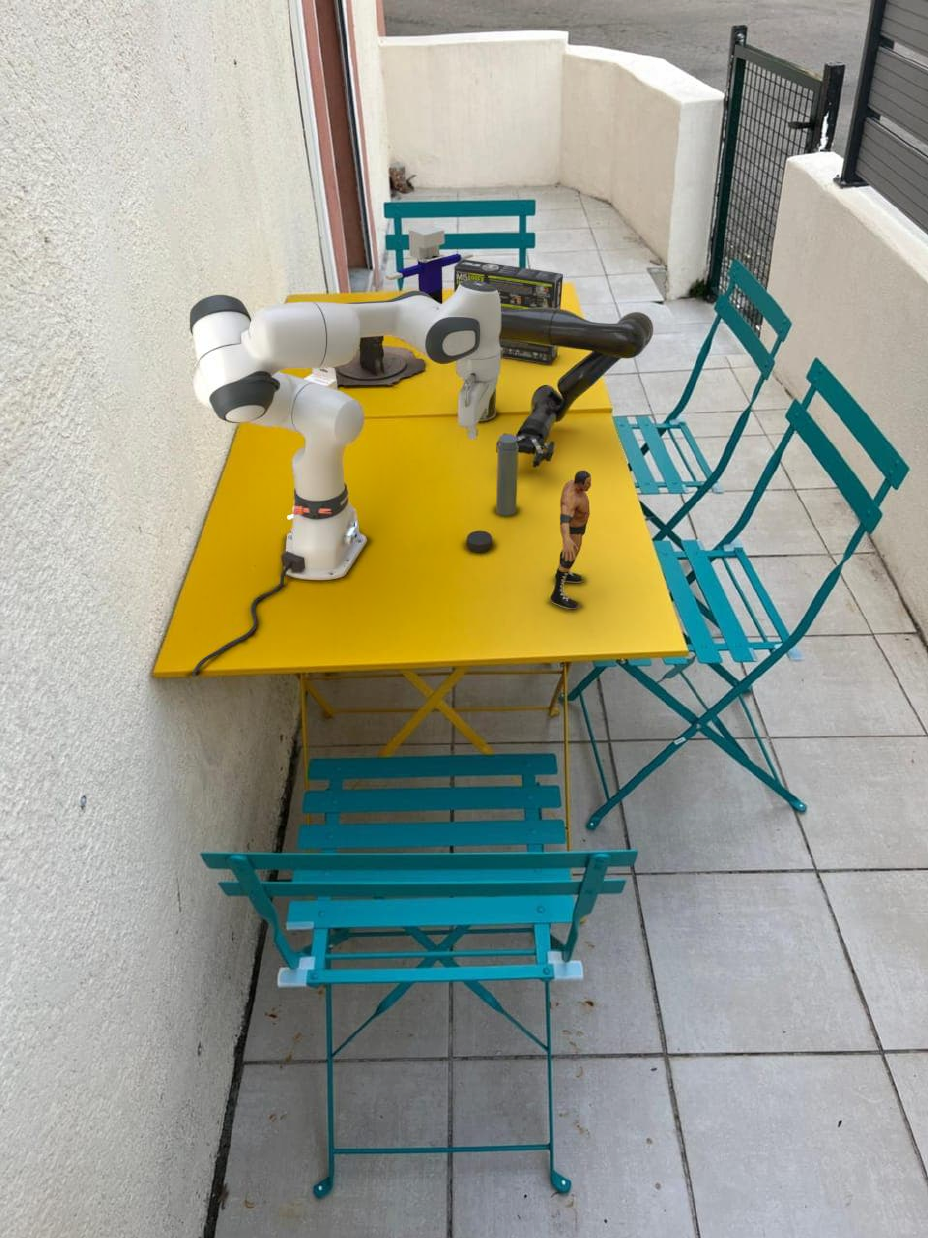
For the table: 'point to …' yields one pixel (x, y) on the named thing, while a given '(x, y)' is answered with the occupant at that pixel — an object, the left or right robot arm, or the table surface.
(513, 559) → the table surface
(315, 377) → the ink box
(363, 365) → the sculpture
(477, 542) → the lid
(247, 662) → the table surface
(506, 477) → the jar
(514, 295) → the box
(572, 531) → the figurine
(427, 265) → the toy
